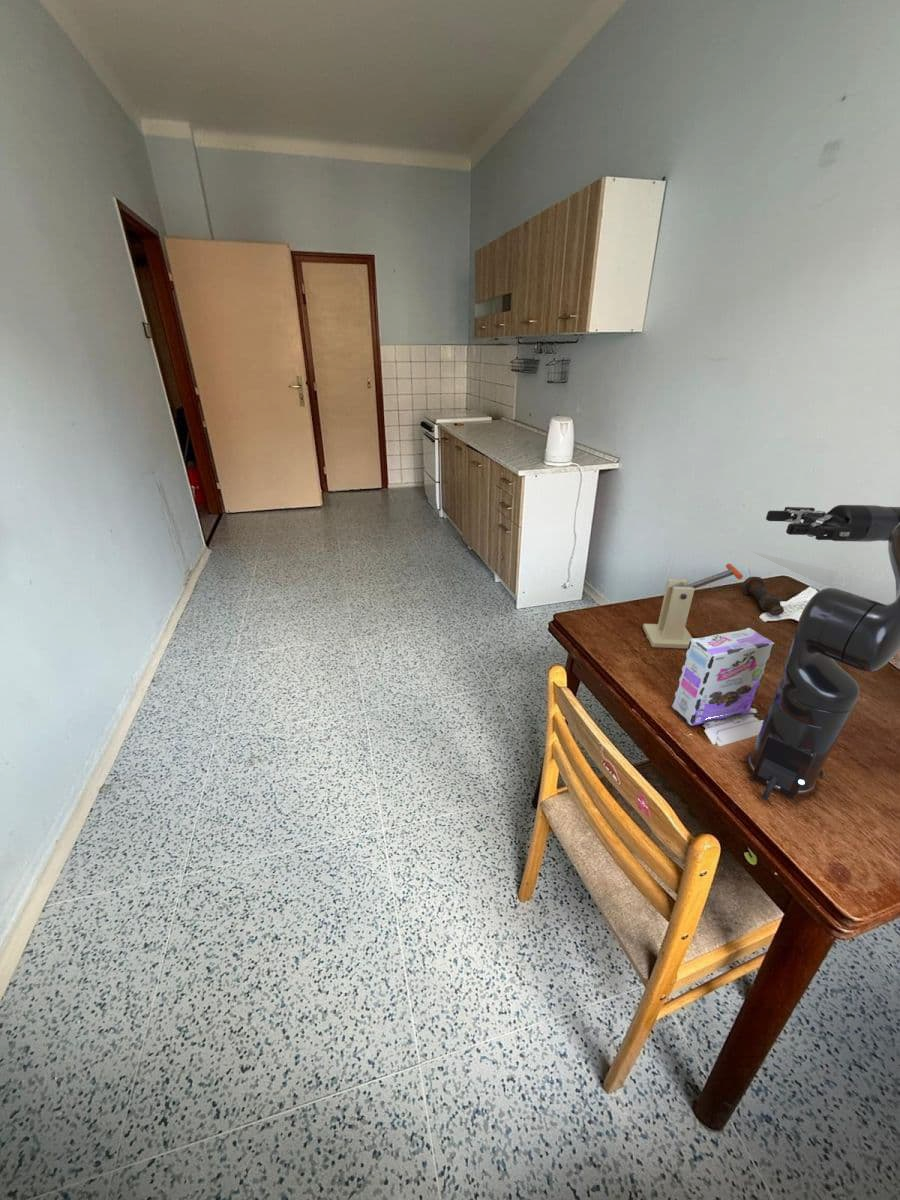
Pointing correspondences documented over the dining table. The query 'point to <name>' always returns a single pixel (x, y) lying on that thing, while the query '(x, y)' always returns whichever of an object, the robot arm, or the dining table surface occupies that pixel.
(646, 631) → the bracket
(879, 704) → the dining table surface
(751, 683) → the candy box
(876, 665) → the robot arm
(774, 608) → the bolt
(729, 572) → the lever
